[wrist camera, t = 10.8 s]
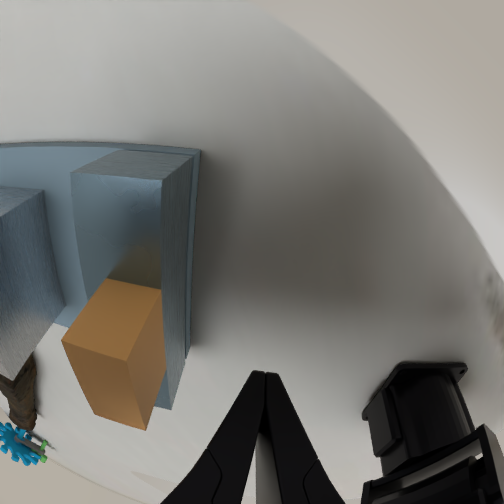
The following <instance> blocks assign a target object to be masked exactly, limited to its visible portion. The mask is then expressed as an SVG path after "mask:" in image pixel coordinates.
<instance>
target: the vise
mask: <svg viewBox="0 0 504 504" xmlns="http://www.w3.org/2000/svg"><path fill="white" fill-rule="evenodd" d="M117 150H129V151H144V152H156V153H168V154H178V155H187V156H193V157H192V168H191V181H190V194H189V209H188V226H187V247H186V275H185V359H186V358H187V355H188V352H189V348H190V319H191V285H192V262H193V243H194V227H195V212H196V199H197V186H198V175H199V164H200V154H201V150H199V149H190V148H180V147H169V146H157V145H143V144H127V143H103V142H33V143H11V144H0V186H6V187H19V188H30V189H41V190H44V194H45V203H46V211H47V218H48V225H49V231H50V237H51V242H52V248H53V253H54V258H55V263H56V267H57V272H58V276H59V280H60V285H61V289H62V292H63V296H64V300H65V304H66V307H65V308H64V309H63V311H62V312H61V313H60V314H59V316H58V317H57V318H56V320H55V321H54V322H53V323H56V324H59V325H62V326H65V327H68V328H70V326H71V325H72V323H73V322H74V321H75V319H76V318H77V316H78V315H79V314H80V312H81V311H82V309H83V308H84V307H85V305H86V304H87V303H88V300H87V296H86V291H85V286H84V281H83V276H82V271H81V265H80V259H79V253H78V247H77V240H76V232H75V224H74V216H73V206H72V194H71V180H70V172H72V171H74V170H76V169H78V168H80V167H82V166H84V165H86V164H88V163H90V162H92V161H95V160H97V159H99V158H101V157H103V156H105V155H108V154H110V153H112V152H114V151H117Z"/></svg>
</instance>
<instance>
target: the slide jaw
mask: <svg viewBox="0 0 504 504" xmlns="http://www.w3.org/2000/svg"><path fill="white" fill-rule="evenodd" d="M192 157H193V156H187V155H178V154H168V153H156V152H144V151H129V150H117V151H114V152H112V153H110V154H108V155H105V156H103V157H101V158H99V159H97V160H95V161H92V162H90V163H88V164H86V165H84V166H82V167H80V168H78V169H76V170H74V171H72V172H70V180H71V194H72V206H73V216H74V224H75V232H76V240H77V247H78V253H79V259H80V265H81V271H82V276H83V281H84V286H85V291H86V296H87V300H88V303H87V304H86V305H85V307H84V308H83V309H82V311H81V312H80V314H79V315H78V316H77V318H76V319H75V321H74V322H73V323H72V325H71V326H70V328H69V329H68V331H67V332H66V334H65V335H64V336H63V338H62V339H61V341H62V344H63V347H64V349H65V352H66V354H67V357H68V359H69V361H70V364H71V366H72V369H73V371H74V373H75V375H76V378H77V380H78V382H79V384H80V386H81V388H82V390H83V393H84V395H85V397H86V399H87V401H88V403H89V405H90V407H91V408H92V410H93V412H94V414H95V415H98V416H101V417H104V418H106V419H109V420H112V421H115V422H118V423H122V424H125V425H128V426H131V427H135V428H138V429H142V430H145V431H146V429H147V425H148V422H149V419H150V416H151V413H152V410H153V407H154V406H156V407H160V408H165V409H169V410H171V409H172V406H173V402H174V399H175V395H176V392H177V389H178V385H179V382H180V378H181V375H182V372H183V368H184V365H185V275H186V247H187V226H188V209H189V194H190V181H191V168H192Z"/></svg>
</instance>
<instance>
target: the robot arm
mask: <svg viewBox="0 0 504 504" xmlns="http://www.w3.org/2000/svg"><path fill="white" fill-rule="evenodd" d="M467 370H468V367H467V365H466V364H465V363H455V364H401V365H399V366H397V367H396V368H395V370H394V371H393V373H392V374H391V375H390V377H389V378H388V380H387V381H386V383H385V384H384V385H383V387H382V388H381V389H380V391H379V392H378V394H377V395H376V396H375V398H374V399H373V400H372V401H371V403H370V404H369V405H368V407H367V408H366V409H365V410H364V412H363V413H362V419H363V420H364V421H368V422H369V428H370V434H371V440H372V446H373V452H374V455H375V456H376V457H380V459H381V466H382V473H383V477H381V478H379V479H376V480H370V481H367V482H365V483H364V484H363V492H362V498H361V504H504V456H503V453H502V451H501V448H500V445H499V443H498V440H497V438H496V435H495V434H494V433H493V432H492V431H491V430H490V429H489V428H488V427H487V426H486V425H485V424H482V425H481V426H479V427H478V428H476V430H475V427H474V425H473V422H472V419H471V416H470V414H469V411H468V409H467V406H466V403H465V401H464V398H463V396H462V393H461V391H460V389H459V386H458V384H457V383H458V382H459V380H460V379H461V378H462V377H463V376H464V374H465V373H466V372H467ZM255 445H256V504H345V502H344V501H343V499H342V498H341V497H340V495H339V494H338V492H337V491H336V489H335V488H334V486H333V484H332V483H331V481H330V480H329V478H328V476H327V474H326V472H325V470H324V468H323V466H322V464H321V462H320V460H319V459H318V456H317V454H316V452H315V450H314V448H313V446H312V444H311V442H310V440H309V438H308V436H307V434H306V431H305V429H304V427H303V425H302V423H301V421H300V419H299V417H298V415H297V413H296V410H295V408H294V406H293V404H292V402H291V400H290V398H289V395H288V393H287V391H286V389H285V387H284V385H283V383H282V380H281V378H280V376H279V374H277V373H272V372H266V373H265V372H263V371H257V370H253V371H252V372H251V374H250V376H249V377H248V379H247V381H246V383H245V384H244V386H243V388H242V390H241V391H240V393H239V395H238V397H237V398H236V400H235V402H234V403H233V405H232V407H231V408H230V410H229V412H228V413H227V415H226V417H225V418H224V420H223V422H222V423H221V425H220V427H219V428H218V430H217V431H216V433H215V435H214V436H213V438H212V440H211V441H210V443H209V444H208V446H207V449H205V450H204V452H203V454H202V455H201V457H200V458H199V460H198V461H197V463H196V464H195V465H194V467H193V468H192V470H191V471H190V472H189V473H188V474H187V475H186V477H185V478H184V479H183V480H182V481H181V482H180V483H179V485H178V486H177V487H176V488H175V489H174V490H173V491H172V492H171V493H170V494H169V495H168V496H167V497H166V498H165V499H164V500H163V501H162V502H161V503H160V504H241V501H242V497H243V493H244V489H245V486H246V482H247V478H248V474H249V470H250V466H251V462H252V458H253V453H254V449H255ZM480 453H482V454H483V457H481V458H480V459H478V460H477V459H476V458H475V456H477V455H478V454H480Z"/></svg>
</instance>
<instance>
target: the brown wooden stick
mask: <svg viewBox="0 0 504 504" xmlns="http://www.w3.org/2000/svg"><path fill="white" fill-rule="evenodd" d="M35 376H36V367H35V363H34V360H33V357H32V354H30V356H29V357H28V359H27V360H26V362H25V363H24V365H23V366H22V368H21V369H20V371H19V372H18V374H17V376H16V377H15V379H14V380H13V381H12V380H10V379H9V378H7V377H5V376H3V375H2V374H0V390H1V392H2V393H3V395H4V396H5V397H6V398H7V399H8V404H9V408H10V414H9V418H10V419H11V420H12V421H13V422H14V423H15V424H16V425H17V426H18V427H19V428H20V429H22V430H29V431H32V430H33V429H34V427H35V425H36V423H35V421H36V419H37V414H36V409H34V400H35V399H34V395H33V383H34V379H35Z"/></svg>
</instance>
